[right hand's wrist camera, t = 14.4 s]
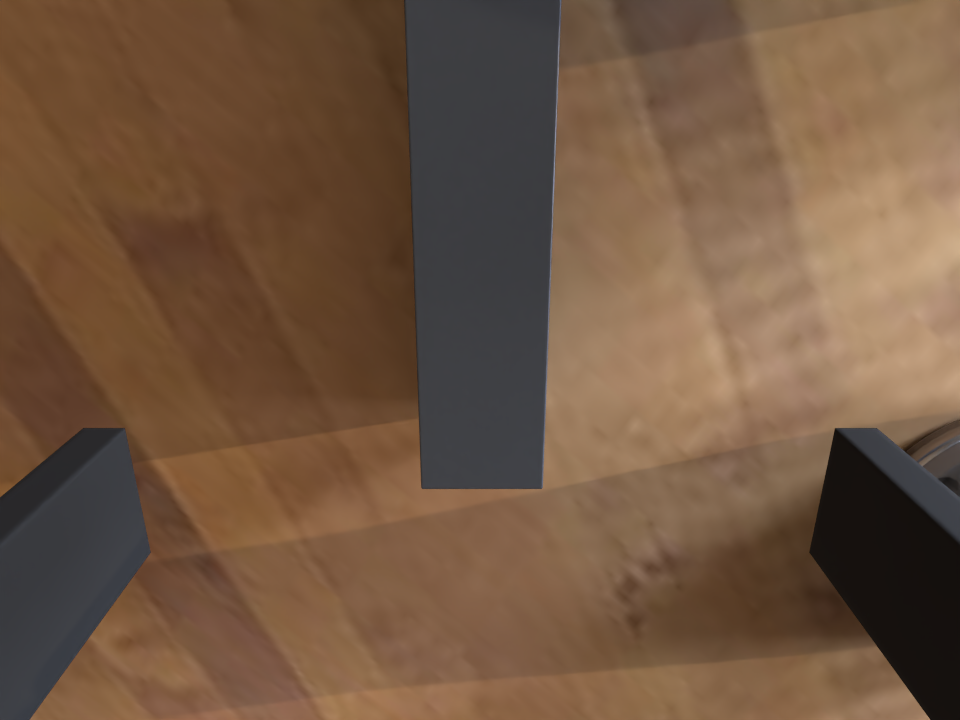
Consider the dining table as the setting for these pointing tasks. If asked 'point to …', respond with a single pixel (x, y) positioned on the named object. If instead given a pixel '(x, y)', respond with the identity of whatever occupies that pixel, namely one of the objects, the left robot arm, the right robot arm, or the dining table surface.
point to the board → (482, 233)
